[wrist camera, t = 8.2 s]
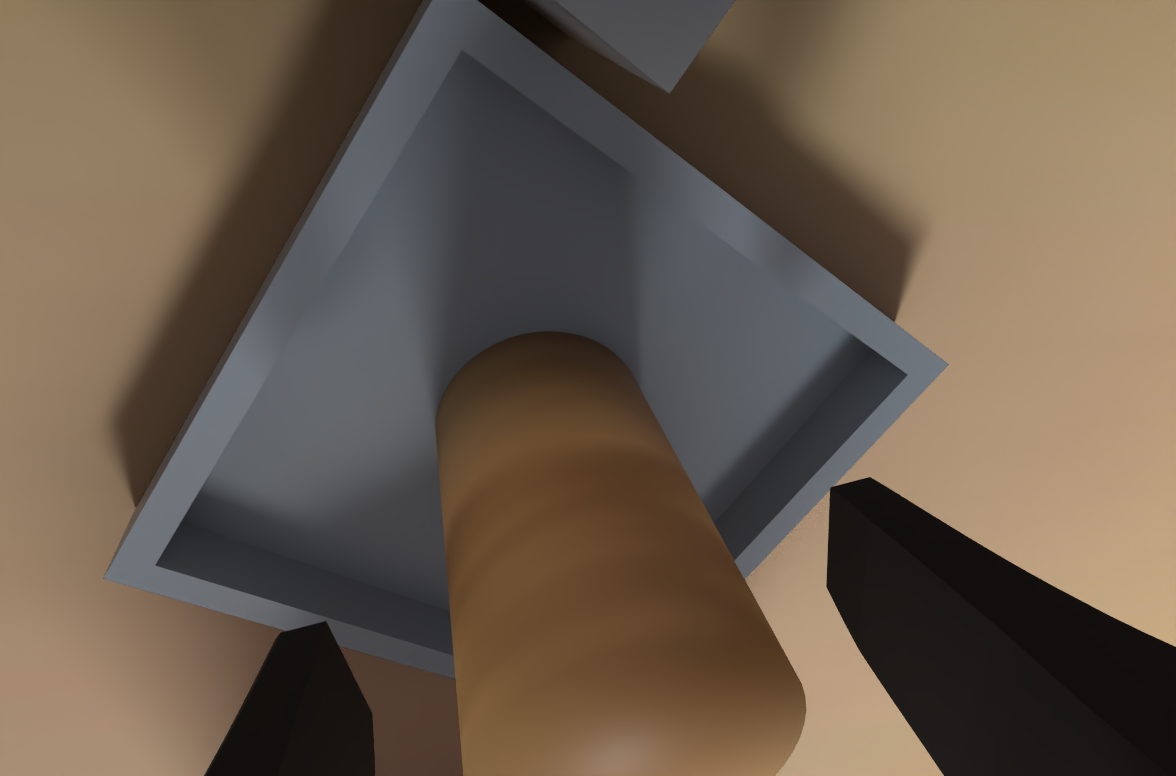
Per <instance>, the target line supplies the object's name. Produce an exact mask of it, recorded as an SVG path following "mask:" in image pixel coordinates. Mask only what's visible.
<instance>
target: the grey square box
mask: <svg viewBox="0 0 1176 776" xmlns="http://www.w3.org/2000/svg"><path fill="white" fill-rule="evenodd" d="M523 1H524V2H525V3H527V4H528V5H529V6H530V7H532V8H533V9H534V10H535V11H537V12H538V13H539V14H540V15H542V16H543V17H544V18H545V19H547V20H548V21H549V22H550V23H552V24H553V25H554V26H555V27H557V28H558V29H559V30H560V31H562V32H563V33H564V34H565V35H567V36H568V37H569V38H570V39H572V40H574V41H576V42H577V43H579V44H581V45H583V46H585V47H586V48H588V49H590V50H592V51H594V52H595V53H597V54H599V55H601V56H603V57H604V58H606V59H608V60H610V61H612V62H613V63H615V64H617V65H619V66H621V67H622V68H624V69H626V70H628V71H630V72H631V73H633V74H635V75H637V76H639V77H640V78H642V79H644V80H646V81H648V82H649V83H651V84H653V85H655V86H657V87H658V88H660V89H662V90H664V91H666V92H667V93H669V94H670V92H671V91H672V89H673V88H674V87H675V85H676V84H677V82H678V81H679V79H680V78H681V77H682V75H683V74H684V72H685V71H686V70H687V68H688V67H689V65H690V64H691V62H692V61H693V60H694V58H695V57H696V55H697V54H698V52H699V51H700V50H701V48H702V47H703V45H704V44H705V42H706V41H707V40H708V38H709V37H710V35H711V34H712V33H713V31H714V30H715V28H716V27H717V25H718V24H719V23H720V21H721V20H722V18H723V17H724V15H725V14H726V13H727V11H728V10H729V8H730V7H731V5H732V4H733V3H734V1H735V0H523Z"/></svg>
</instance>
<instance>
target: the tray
mask: <svg viewBox="0 0 1176 776" xmlns="http://www.w3.org/2000/svg"><path fill="white" fill-rule="evenodd" d="M544 331H556V332H567V333H572V334H577V335H581V336H584V337H587V338H589V339H592V340H594V341H596V342H598V343H600V344H602V345H604V346H606V347H607V348H608V349H610V350H611V351H613V352H614V353H615V354H616V355H617V356H618V357H619V358H620V359H621V360H622V361H623V362H624V363H625V364H626V366H627V367H628V368H629V369H630V371H631V373H632V375H633V376H634V378H635V380H636V382H637V384H638V386H639V387H640V389H641V391H642V393H643V395H644V397H645V398H646V400H647V402H648V404H649V406H650V407H651V409H652V411H653V413H654V415H655V417H656V418H657V420H658V422H659V424H660V426H661V428H662V429H663V431H664V433H665V435H666V437H667V439H668V440H669V442H670V444H671V446H672V448H673V450H674V451H675V453H676V455H677V457H678V459H679V461H680V462H681V464H682V466H683V468H684V470H685V472H686V473H687V475H688V477H689V479H690V481H691V483H692V484H693V486H694V488H695V490H696V492H697V493H698V495H699V497H700V499H701V501H702V503H703V504H704V506H705V508H706V510H707V512H708V514H709V515H710V517H711V519H712V521H713V523H714V525H715V526H716V528H717V530H718V532H719V534H720V536H721V537H722V539H723V541H724V543H725V545H726V547H727V548H728V550H729V552H730V554H731V556H732V558H733V559H734V561H735V563H736V565H737V567H738V568H739V570H740V572H741V574H742V576H743V578H744V579H746V578H747V577H748V575H749V574H750V573H751V572H752V571H753V570H754V569H755V568H756V567H757V566H758V565H759V564H760V563H761V562H762V561H763V560H764V559H765V558H766V557H767V555H768V554H769V553H770V552H771V551H772V550H773V549H774V548H775V547H776V546H777V545H778V544H779V543H780V542H781V541H782V540H783V539H784V538H785V537H786V535H787V534H788V533H789V532H790V531H791V530H792V529H793V528H794V527H795V526H796V525H797V524H798V523H799V522H800V521H801V520H802V519H803V518H804V517H805V515H806V514H807V513H808V512H809V511H810V510H811V509H812V508H813V507H814V506H815V505H816V504H817V503H818V502H819V501H820V500H821V499H822V498H823V497H824V495H825V494H826V493H827V492H828V491H829V490H830V487H833V486H834V485H835V484H836V483H837V482H838V481H839V480H840V479H841V478H842V477H843V476H844V474H845V473H846V472H847V471H848V470H849V469H850V468H851V467H852V466H853V465H854V464H855V463H856V462H857V461H858V460H859V459H860V458H861V457H862V456H863V454H864V453H865V452H866V451H867V450H868V449H869V448H870V447H871V446H872V445H873V444H874V443H875V442H876V441H877V440H878V439H879V438H880V437H881V436H882V434H883V433H884V432H885V431H886V430H887V429H888V428H889V427H890V426H891V425H892V424H893V423H894V422H895V421H896V420H897V419H898V418H899V417H900V416H901V414H902V413H903V412H904V411H905V410H906V409H907V408H908V407H909V406H910V405H911V404H912V403H913V402H914V401H915V400H916V399H917V398H918V397H919V396H920V394H921V393H922V392H923V391H924V390H925V389H926V388H927V387H928V386H929V385H930V384H931V383H932V382H933V381H934V380H935V379H936V378H937V377H938V376H939V374H940V373H941V372H942V371H943V370H944V369H945V368H946V367H947V366H948V365H949V364H948V363H946V362H945V361H944V360H942V359H941V358H940V357H939V356H937V355H936V354H935V353H933V352H932V351H931V350H929V349H928V348H927V347H926V346H924V345H923V344H922V343H920V342H919V341H918V340H917V339H915V338H914V337H913V336H911V335H910V334H909V333H907V332H906V331H905V330H904V329H902V328H901V327H900V326H898V325H897V324H896V323H895V322H893V321H892V320H891V319H889V318H888V317H887V316H885V315H884V314H883V313H882V312H880V311H879V310H878V309H876V308H875V307H874V306H873V305H871V304H870V303H869V302H867V301H866V300H865V299H863V298H862V297H861V296H860V295H858V294H857V293H856V292H854V291H853V290H852V289H851V288H849V287H848V286H847V285H845V284H844V283H843V282H841V281H840V280H839V279H838V278H836V277H835V276H834V275H832V274H831V273H830V272H829V271H827V270H826V269H825V268H823V267H822V266H821V265H819V264H818V263H817V262H816V261H814V260H813V259H812V258H810V257H809V256H808V255H807V254H805V253H804V252H803V251H801V250H800V249H799V248H797V247H796V246H795V245H794V244H792V243H791V242H790V241H788V240H787V239H786V238H784V237H783V236H782V235H781V234H779V233H778V232H777V231H775V230H774V229H773V228H772V227H770V226H769V225H768V224H766V223H765V222H764V221H762V220H761V219H760V218H759V217H757V216H756V215H755V214H753V213H752V212H751V211H750V210H748V209H747V208H746V207H744V206H743V205H742V204H740V203H739V202H738V201H737V200H735V199H734V198H733V197H731V196H730V195H729V194H728V193H726V192H725V191H724V190H722V189H721V188H720V187H718V186H717V185H716V184H715V183H713V182H712V181H711V180H709V179H708V178H707V177H706V176H704V175H703V174H702V173H700V172H699V171H698V170H696V169H695V168H694V167H693V166H691V165H690V164H689V163H687V162H686V161H685V160H684V159H682V158H681V157H680V156H678V155H677V154H676V153H674V152H673V151H672V150H671V149H669V148H668V147H667V146H665V145H664V144H663V143H662V142H660V141H659V140H658V139H656V138H655V137H654V136H652V135H651V134H650V133H649V132H647V131H646V130H645V129H643V128H642V127H641V126H639V125H638V124H637V123H636V122H634V121H633V120H632V119H630V118H629V117H628V116H627V115H625V114H624V113H623V112H621V111H620V110H619V109H617V108H616V107H615V106H614V105H612V104H611V103H610V102H608V101H607V100H606V99H605V98H603V97H602V96H601V95H599V94H598V93H597V92H595V91H594V90H593V89H592V88H590V87H589V86H588V85H586V84H585V83H584V82H583V81H581V80H580V79H579V78H577V77H576V76H575V75H573V74H572V73H571V72H570V71H568V70H567V69H566V68H564V67H563V66H562V65H561V64H559V63H558V62H557V61H555V60H554V59H553V58H551V57H550V56H549V55H548V54H546V53H545V52H544V51H542V50H541V49H540V48H539V47H537V46H536V45H535V44H533V43H532V42H531V41H529V40H528V39H527V38H526V37H524V36H523V35H522V34H520V33H519V32H518V31H517V30H515V29H514V28H513V27H511V26H510V25H509V24H507V23H506V22H505V21H504V20H502V19H501V18H500V17H498V16H497V15H496V14H494V13H493V12H492V11H491V10H489V9H488V8H487V7H485V6H484V5H483V4H482V3H480V2H479V1H478V0H423V1H422V2H421V4H420V6H419V8H418V10H417V11H416V13H415V15H414V17H413V18H412V20H411V22H410V24H409V25H408V27H407V29H406V31H405V33H404V34H403V36H402V38H401V40H400V41H399V43H398V45H397V47H396V49H395V50H394V52H393V54H392V56H391V57H390V59H389V61H388V63H387V64H386V66H385V68H384V70H383V72H382V73H381V75H380V77H379V79H378V80H377V82H376V84H375V86H374V87H373V89H372V91H371V93H370V95H369V96H368V98H367V100H366V102H365V103H364V105H363V107H362V109H361V110H360V112H359V114H358V116H357V118H356V119H355V121H354V123H353V125H352V126H351V128H350V130H349V132H348V133H347V135H346V137H345V139H344V141H343V142H342V144H341V146H340V148H339V149H338V151H337V153H336V155H335V157H334V158H333V160H332V162H331V164H330V165H329V167H328V169H327V171H326V172H325V174H324V176H323V178H322V180H321V181H320V183H319V185H318V187H317V188H316V190H315V192H314V194H313V195H312V197H311V199H310V201H309V203H308V204H307V206H306V208H305V210H304V211H303V213H302V215H301V217H300V218H299V220H298V222H297V224H296V226H295V227H294V229H293V231H292V233H291V234H290V236H289V238H288V240H287V241H286V243H285V245H284V247H283V249H282V250H281V252H280V254H279V256H278V257H277V259H276V261H275V263H274V265H273V266H272V268H271V270H270V272H269V273H268V275H267V277H266V279H265V280H264V282H263V284H262V286H261V288H260V289H259V291H258V293H257V295H256V296H255V298H254V300H253V302H252V303H251V305H250V307H249V309H248V311H247V312H246V314H245V316H244V318H243V319H242V321H241V323H240V325H239V326H238V328H237V330H236V332H235V334H234V335H233V337H232V339H231V341H230V342H229V344H228V346H227V348H226V349H225V351H224V353H223V355H222V357H221V358H220V360H219V362H218V364H217V365H216V367H215V369H214V371H213V372H212V374H211V376H210V378H209V380H208V381H207V383H206V385H205V387H204V388H203V390H202V392H201V394H200V396H199V397H198V399H197V401H196V403H195V404H194V406H193V408H192V410H191V411H190V413H189V415H188V417H187V419H186V420H185V422H184V424H183V426H182V427H181V429H180V431H179V433H178V434H177V436H176V438H175V440H174V442H173V443H172V445H171V447H170V449H169V450H168V452H167V454H166V456H165V457H164V459H163V461H162V463H161V465H160V466H159V468H158V470H157V472H156V473H155V475H154V477H153V479H152V480H151V482H150V484H149V486H148V488H147V489H146V491H145V493H144V495H143V496H142V498H141V500H140V502H139V504H138V505H137V507H136V509H135V511H134V513H133V515H132V517H131V519H130V521H129V524H128V526H127V528H126V530H125V532H124V534H123V537H122V539H121V541H120V543H119V545H118V547H117V550H116V552H115V554H114V556H113V558H112V560H111V563H110V565H109V567H108V569H107V571H106V574H105V576H104V578H103V579H106V580H109V581H113V582H116V583H120V584H123V585H127V586H130V587H134V588H137V589H141V590H144V591H148V592H151V593H155V594H158V595H162V596H165V597H169V598H172V599H176V600H179V601H183V602H186V603H190V604H193V605H197V606H200V607H204V608H207V609H211V610H214V611H218V612H221V613H225V614H228V615H232V616H235V617H239V618H242V619H246V620H249V621H253V622H256V623H260V624H263V625H267V626H270V627H274V628H277V629H281V630H284V631H289V630H293V629H297V628H301V627H304V626H308V625H312V624H316V623H320V622H323V621H327V623H328V625H329V627H330V629H331V631H332V633H333V635H334V638H335V640H336V642H337V644H338V646H340V647H344V648H347V649H351V650H354V651H358V652H361V653H365V654H368V655H372V656H375V657H379V658H382V659H386V660H389V661H393V662H396V663H400V664H403V665H407V666H410V667H414V668H417V669H421V670H424V671H428V672H431V673H435V674H438V675H442V676H445V677H449V678H452V679H455V666H454V654H453V641H452V629H451V617H450V604H449V592H448V579H447V567H446V554H445V542H444V530H443V517H442V505H441V492H440V480H439V468H438V455H437V443H436V418H437V412H438V408H439V405H440V401H441V399H442V397H443V395H444V392H445V390H446V389H447V387H448V385H449V384H450V382H451V381H452V379H453V378H454V377H455V375H456V374H457V373H458V372H459V371H460V369H461V368H462V367H463V366H464V365H466V364H467V363H468V362H469V361H470V360H471V359H472V358H474V357H475V356H476V355H478V354H479V353H480V352H482V351H483V350H485V349H487V348H489V347H490V346H492V345H494V344H496V343H498V342H501V341H503V340H506V339H508V338H511V337H515V336H518V335H522V334H527V333H533V332H544Z"/></svg>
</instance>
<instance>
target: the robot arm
mask: <svg viewBox="0 0 1176 776" xmlns="http://www.w3.org/2000/svg"><path fill="white" fill-rule="evenodd" d="M826 587H827V589H828V591H829V593H830V595H831V597H832V599H833V601H834V603H835V605H836V607H837V609H838V611H839V613H840V615H841V617H842V619H843V621H844V623H845V624H846V626H847V628H848V630H849V632H850V634H851V636H852V638H853V639H854V641H855V643H856V645H857V647H858V649H859V651H860V652H861V654H862V655H863V657H864V658H865V660H866V661H867V663H868V664H869V666H870V667H871V669H872V670H873V672H874V673H875V675H876V676H877V678H878V679H879V681H880V682H881V684H882V685H883V687H884V688H885V690H886V691H887V693H888V694H889V696H890V697H891V699H892V700H893V702H894V703H895V704H896V706H897V707H898V709H899V710H900V712H901V713H902V715H903V716H904V718H905V719H906V721H907V722H908V723H909V725H910V726H911V728H912V729H913V731H914V732H915V734H916V735H917V737H918V738H919V740H920V741H921V743H922V744H923V745H924V747H925V748H926V750H927V751H928V753H929V754H930V756H931V757H932V759H933V760H934V762H935V763H936V765H937V766H938V767H939V769H940V770H941V772H942V773H943V775H944V776H1176V647H1175V646H1172V645H1170V644H1168V643H1166V642H1164V641H1161V640H1159V639H1157V638H1155V637H1153V636H1151V635H1148V634H1146V633H1144V632H1142V631H1140V630H1138V629H1136V628H1134V627H1132V626H1129V625H1127V624H1125V623H1123V622H1121V621H1119V620H1117V619H1115V618H1113V617H1111V616H1109V615H1107V614H1105V613H1103V612H1101V611H1099V610H1098V609H1096V608H1094V607H1092V606H1090V605H1088V604H1086V603H1084V602H1082V601H1080V600H1078V599H1077V598H1075V597H1073V596H1071V595H1069V594H1067V593H1065V592H1063V591H1061V590H1059V589H1057V588H1056V587H1054V586H1052V585H1050V584H1048V583H1047V582H1045V581H1043V580H1041V579H1039V578H1037V577H1036V576H1034V575H1032V574H1030V573H1028V572H1027V571H1025V570H1023V569H1021V568H1020V567H1018V566H1016V565H1014V564H1013V563H1011V562H1009V561H1007V560H1006V559H1004V558H1002V557H1001V556H999V555H997V554H995V553H994V552H992V551H990V550H989V549H987V548H985V547H984V546H982V545H980V544H979V543H977V542H975V541H974V540H972V539H970V538H968V537H967V536H965V535H963V534H962V533H960V532H959V531H957V530H955V529H954V528H952V527H950V526H949V525H947V524H946V523H944V522H942V521H941V520H939V519H937V518H936V517H934V516H932V515H931V514H929V513H928V512H926V511H924V510H923V509H921V508H920V507H918V506H916V505H915V504H913V503H912V502H910V501H908V500H907V499H905V498H904V497H902V496H900V495H899V494H897V493H895V492H894V491H892V490H891V489H889V488H887V487H886V486H884V485H882V484H881V483H879V482H877V481H876V480H874V479H872V478H871V477H868V478H865V479H861V480H857V481H853V482H849V483H846V484H842V485H838V486H834V487H830V509H829V535H828V561H827V586H826ZM204 776H375V756H374V738H373V720H372V712H371V710H370V708H369V706H368V704H367V702H366V700H365V698H364V696H363V694H362V692H361V690H360V688H359V686H358V684H357V682H356V680H355V678H354V676H353V674H352V672H351V670H350V668H349V666H348V664H347V662H346V660H345V658H344V656H343V654H342V652H341V650H340V648H339V646H338V644H337V642H336V640H335V638H334V635H333V633H332V631H331V629H330V627H329V625H328V623H327V621H323V622H320V623H316V624H312V625H308V626H304V627H301V628H297V629H293V630H289V631H285V632H282V633H280V634H279V636H278V637H277V638H276V640H275V642H274V643H273V645H272V647H271V649H270V651H269V653H268V655H267V657H266V659H265V661H264V663H263V665H262V667H261V669H260V671H259V673H258V675H257V677H256V679H255V681H254V683H253V685H252V687H251V689H250V691H249V693H248V695H247V697H246V698H245V700H244V702H243V704H242V706H241V708H240V710H239V712H238V714H237V716H236V718H235V720H234V722H233V723H232V725H231V727H230V729H229V731H228V733H227V735H226V737H225V739H224V741H223V742H222V744H221V746H220V748H219V750H218V751H217V753H216V755H215V757H214V759H213V761H212V762H211V764H210V766H209V768H208V770H207V771H206V773H205V775H204Z"/></svg>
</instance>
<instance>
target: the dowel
mask: <svg viewBox="0 0 1176 776" xmlns="http://www.w3.org/2000/svg"><path fill="white" fill-rule="evenodd" d="M436 443H437V455H438V468H439V480H440V492H441V505H442V517H443V530H444V542H445V554H446V567H447V579H448V592H449V604H450V617H451V629H452V641H453V654H454V666H455V679H456V691H457V703H458V716H459V728H460V741H461V753H462V765H463V776H775V775H776V774H777V773H778V771H779V770H780V769H781V768H782V767H783V766H784V764H785V763H786V761H787V760H788V758H789V757H790V755H791V754H792V752H793V750H794V748H795V746H796V744H797V742H798V740H799V738H800V735H801V732H802V729H803V726H804V721H805V714H806V700H805V694H804V691H803V687H802V684H801V682H800V680H799V678H798V676H797V675H796V673H795V671H794V669H793V667H792V665H791V664H790V662H789V660H788V658H787V656H786V654H785V653H784V651H783V649H782V647H781V645H780V643H779V642H778V640H777V638H776V636H775V634H774V633H773V631H772V629H771V627H770V625H769V623H768V622H767V620H766V618H765V616H764V614H763V612H762V611H761V609H760V607H759V605H758V603H757V601H756V600H755V598H754V596H753V594H752V592H751V590H750V589H749V587H748V585H747V583H746V581H745V579H744V578H743V576H742V574H741V572H740V570H739V568H738V567H737V565H736V563H735V561H734V559H733V558H732V556H731V554H730V552H729V550H728V548H727V547H726V545H725V543H724V541H723V539H722V537H721V536H720V534H719V532H718V530H717V528H716V526H715V525H714V523H713V521H712V519H711V517H710V515H709V514H708V512H707V510H706V508H705V506H704V504H703V503H702V501H701V499H700V497H699V495H698V493H697V492H696V490H695V488H694V486H693V484H692V483H691V481H690V479H689V477H688V475H687V473H686V472H685V470H684V468H683V466H682V464H681V462H680V461H679V459H678V457H677V455H676V453H675V451H674V450H673V448H672V446H671V444H670V442H669V440H668V439H667V437H666V435H665V433H664V431H663V429H662V428H661V426H660V424H659V422H658V420H657V418H656V417H655V415H654V413H653V411H652V409H651V407H650V406H649V404H648V402H647V400H646V398H645V397H644V395H643V393H642V391H641V389H640V387H639V386H638V384H637V382H636V380H635V378H634V376H633V375H632V373H631V371H630V369H629V368H628V367H627V366H626V364H625V363H624V362H623V361H622V360H621V359H620V358H619V357H618V356H617V355H616V354H615V353H614V352H613V351H611V350H610V349H608V348H607V347H606V346H604V345H602V344H600V343H598V342H596V341H594V340H592V339H589V338H587V337H584V336H581V335H577V334H572V333H567V332H556V331H544V332H533V333H527V334H522V335H518V336H515V337H511V338H508V339H506V340H503V341H501V342H498V343H496V344H494V345H492V346H490V347H489V348H487V349H485V350H483V351H482V352H480V353H479V354H478V355H476V356H475V357H474V358H472V359H471V360H470V361H469V362H468V363H467V364H466V365H464V366H463V367H462V368H461V369H460V371H459V372H458V373H457V374H456V375H455V377H454V378H453V379H452V381H451V382H450V384H449V385H448V387H447V389H446V390H445V392H444V395H443V397H442V399H441V401H440V405H439V408H438V412H437V418H436Z"/></svg>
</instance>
